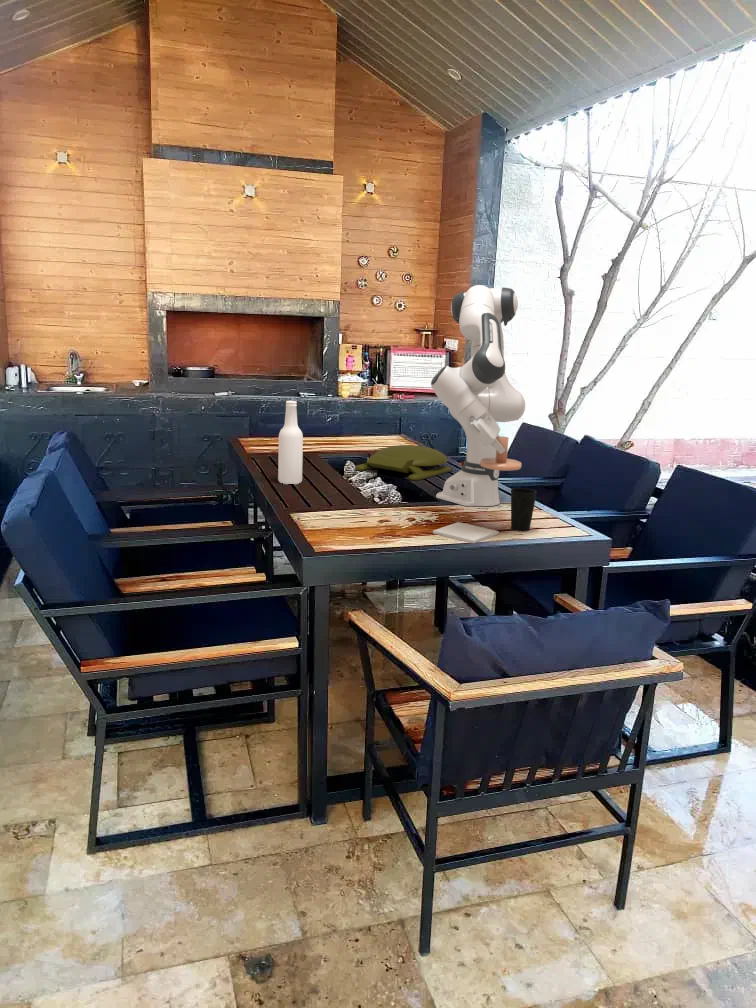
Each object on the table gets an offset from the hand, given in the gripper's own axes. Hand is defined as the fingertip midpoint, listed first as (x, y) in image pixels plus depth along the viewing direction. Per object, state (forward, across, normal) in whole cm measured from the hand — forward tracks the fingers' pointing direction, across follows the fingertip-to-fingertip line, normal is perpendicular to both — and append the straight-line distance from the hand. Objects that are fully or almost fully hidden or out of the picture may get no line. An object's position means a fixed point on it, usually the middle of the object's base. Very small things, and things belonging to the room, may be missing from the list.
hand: (504, 450), depth 223 cm
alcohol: (-38, +37, +75) cm, 92 cm away
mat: (+11, -7, +23) cm, 27 cm away
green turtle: (-12, +80, +51) cm, 96 cm away
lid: (+3, 0, +4) cm, 5 cm away
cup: (+22, +4, +13) cm, 26 cm away
